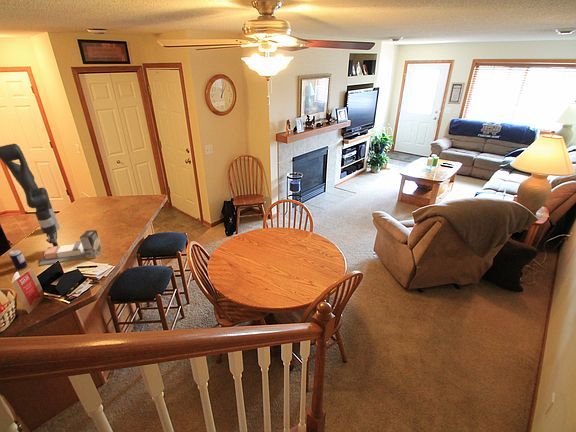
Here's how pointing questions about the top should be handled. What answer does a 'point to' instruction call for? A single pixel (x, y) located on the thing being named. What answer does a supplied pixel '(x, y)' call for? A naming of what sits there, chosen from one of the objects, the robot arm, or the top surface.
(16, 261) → the beverage can
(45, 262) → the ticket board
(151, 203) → the top surface
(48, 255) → the pink block
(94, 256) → the coffee box
